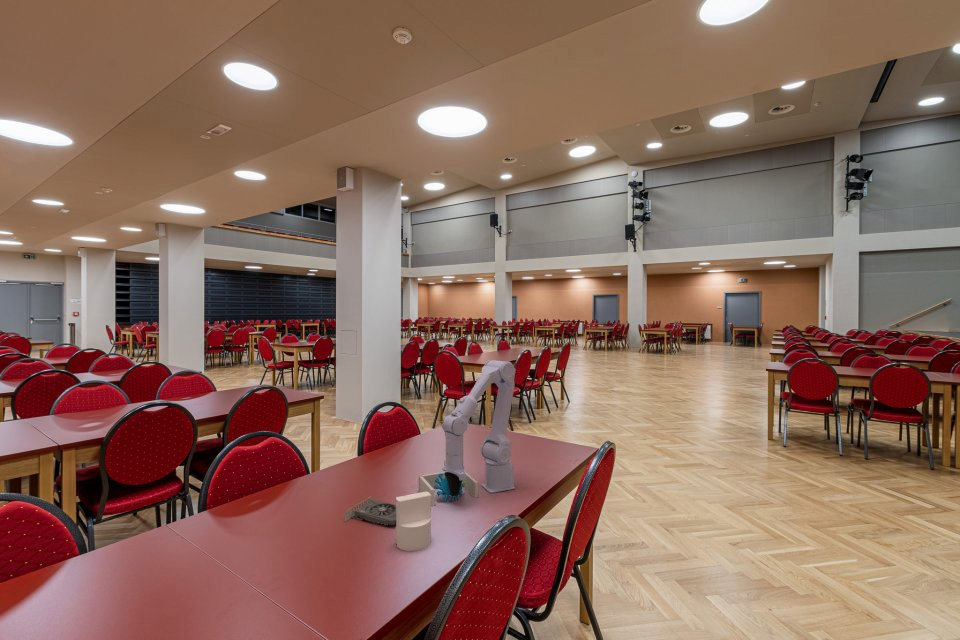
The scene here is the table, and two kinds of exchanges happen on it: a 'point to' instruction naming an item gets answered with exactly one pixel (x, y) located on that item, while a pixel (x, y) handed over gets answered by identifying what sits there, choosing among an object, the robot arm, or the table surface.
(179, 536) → the table surface
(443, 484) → the blue virus model
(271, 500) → the table surface
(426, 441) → the table surface
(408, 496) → the cylinder with rectangular tab
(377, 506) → the graphics card
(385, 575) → the table surface
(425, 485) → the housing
